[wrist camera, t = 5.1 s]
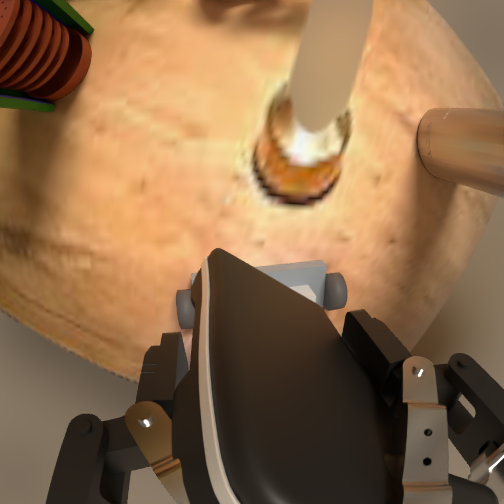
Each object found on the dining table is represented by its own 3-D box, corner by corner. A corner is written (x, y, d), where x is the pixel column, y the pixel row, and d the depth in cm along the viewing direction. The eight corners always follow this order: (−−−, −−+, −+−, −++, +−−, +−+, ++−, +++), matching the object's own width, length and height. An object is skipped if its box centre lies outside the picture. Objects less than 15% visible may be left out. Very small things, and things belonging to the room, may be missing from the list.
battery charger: (170, 302, 13) (154, 557, 3) (211, 238, 12) (255, 543, 2) (281, 353, 16) (353, 539, 5) (323, 304, 15) (445, 489, 4)
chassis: (334, 258, 31) (350, 273, 27) (321, 367, 37) (331, 387, 34) (176, 274, 29) (173, 293, 25) (199, 385, 35) (200, 407, 31)
